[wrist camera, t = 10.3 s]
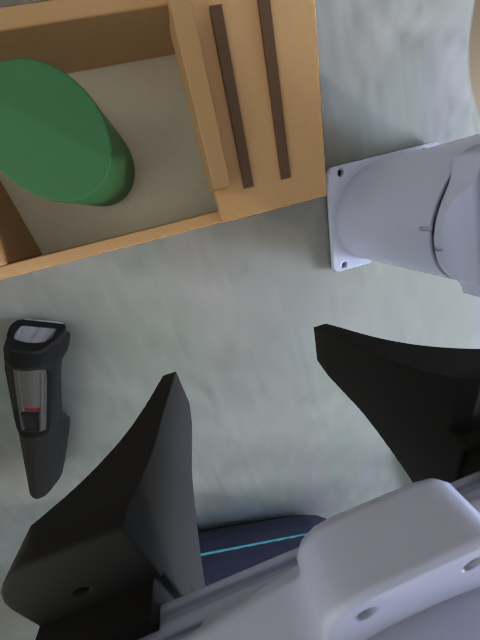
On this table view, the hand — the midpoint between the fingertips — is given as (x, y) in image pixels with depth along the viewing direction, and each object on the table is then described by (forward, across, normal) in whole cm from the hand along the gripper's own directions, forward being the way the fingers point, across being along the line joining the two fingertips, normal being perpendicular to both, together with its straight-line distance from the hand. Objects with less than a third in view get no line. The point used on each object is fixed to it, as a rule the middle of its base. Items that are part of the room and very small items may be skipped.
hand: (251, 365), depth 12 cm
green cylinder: (+8, +5, -11) cm, 14 cm away
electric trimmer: (+10, +16, +4) cm, 19 cm away
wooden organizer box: (+9, +2, -11) cm, 15 cm away
